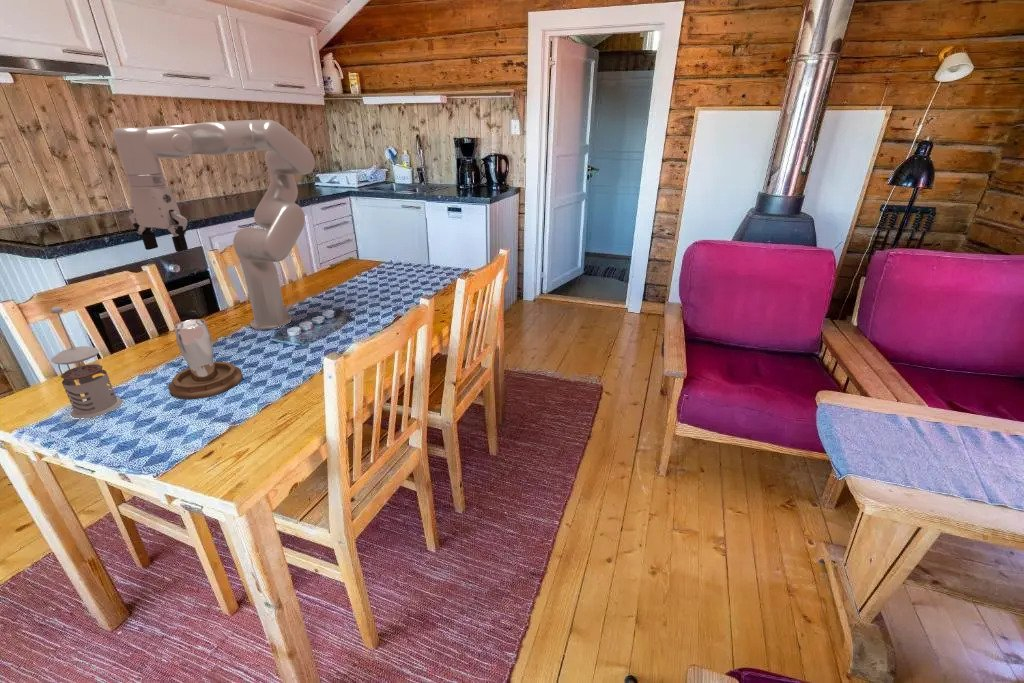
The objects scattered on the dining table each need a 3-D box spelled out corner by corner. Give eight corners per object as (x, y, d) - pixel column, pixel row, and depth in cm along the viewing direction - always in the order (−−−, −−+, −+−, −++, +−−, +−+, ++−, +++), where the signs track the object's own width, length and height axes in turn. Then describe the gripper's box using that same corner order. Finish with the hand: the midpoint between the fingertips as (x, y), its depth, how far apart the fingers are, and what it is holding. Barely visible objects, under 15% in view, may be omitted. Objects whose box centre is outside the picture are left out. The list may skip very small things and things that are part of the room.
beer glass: (227, 372, 123) (212, 319, 117) (209, 385, 117) (192, 330, 111) (202, 371, 124) (186, 318, 118) (183, 384, 118) (165, 328, 111)
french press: (87, 423, 104) (41, 317, 94) (54, 413, 107) (6, 310, 97) (133, 401, 112) (96, 302, 102) (101, 392, 116) (62, 296, 106)
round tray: (206, 365, 129) (204, 356, 128) (256, 372, 126) (254, 363, 125) (153, 394, 115) (150, 384, 114) (208, 403, 112) (205, 393, 111)
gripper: (188, 181, 119) (205, 248, 126) (133, 179, 122) (153, 244, 129) (161, 184, 112) (181, 255, 119) (104, 182, 116) (127, 251, 123)
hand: (167, 249), depth 124 cm, fingers open, 9 cm apart
